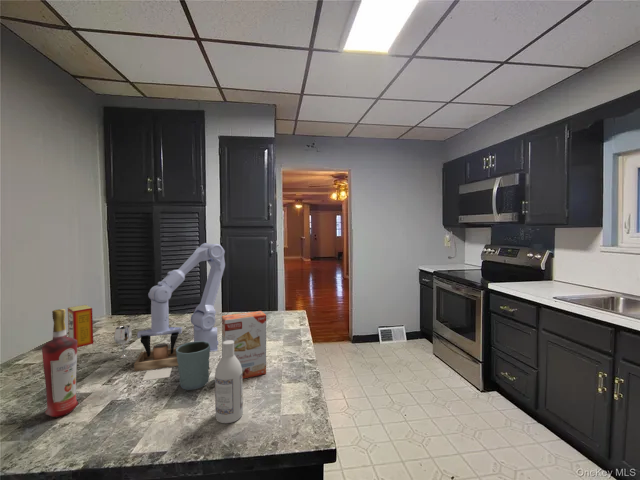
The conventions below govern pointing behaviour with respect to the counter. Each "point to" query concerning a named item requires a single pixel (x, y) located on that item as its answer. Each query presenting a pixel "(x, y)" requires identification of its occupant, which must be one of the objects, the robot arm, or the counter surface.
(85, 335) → the baking soda box
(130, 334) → the wineglass
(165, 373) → the tile
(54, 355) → the liquor
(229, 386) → the bath foam
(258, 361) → the cracker box
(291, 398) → the counter surface
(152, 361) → the brown wooden shallow tray
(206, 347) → the green cup
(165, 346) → the pot
